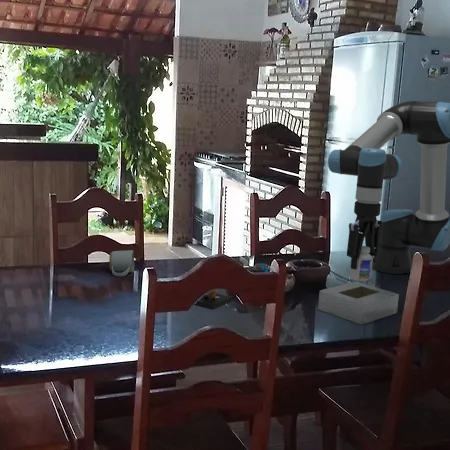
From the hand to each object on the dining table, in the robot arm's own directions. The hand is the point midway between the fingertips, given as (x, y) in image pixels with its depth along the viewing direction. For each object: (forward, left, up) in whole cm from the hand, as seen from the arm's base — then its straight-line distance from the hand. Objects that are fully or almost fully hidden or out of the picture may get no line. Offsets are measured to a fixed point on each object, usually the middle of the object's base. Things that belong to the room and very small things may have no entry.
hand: (360, 277), depth 193 cm
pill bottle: (0, 0, -1) cm, 1 cm away
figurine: (+32, -32, -11) cm, 46 cm away
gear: (+3, -34, -11) cm, 35 cm away
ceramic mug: (+36, -73, -11) cm, 82 cm away
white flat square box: (0, 0, -11) cm, 11 cm away
